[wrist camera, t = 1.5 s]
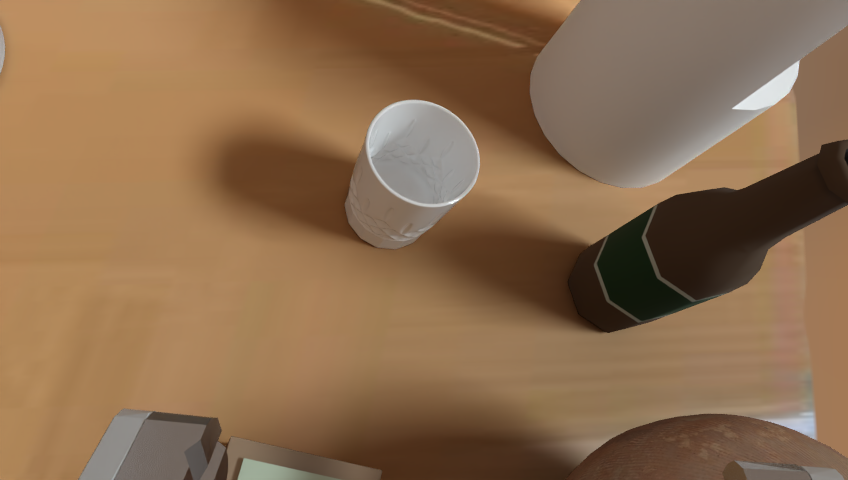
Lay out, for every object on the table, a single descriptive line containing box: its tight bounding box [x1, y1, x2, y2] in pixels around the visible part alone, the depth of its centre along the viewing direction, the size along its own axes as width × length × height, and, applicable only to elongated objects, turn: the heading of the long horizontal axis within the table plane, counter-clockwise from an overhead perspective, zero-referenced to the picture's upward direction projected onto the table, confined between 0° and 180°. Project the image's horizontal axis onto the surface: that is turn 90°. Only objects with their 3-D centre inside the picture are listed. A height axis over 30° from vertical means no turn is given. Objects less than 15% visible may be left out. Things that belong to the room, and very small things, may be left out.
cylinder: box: [530, 0, 848, 188], centre depth 50 cm, size 17×17×28 cm
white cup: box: [345, 100, 480, 249], centre depth 46 cm, size 8×8×10 cm
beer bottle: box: [568, 140, 848, 333], centre depth 44 cm, size 8×8×24 cm
